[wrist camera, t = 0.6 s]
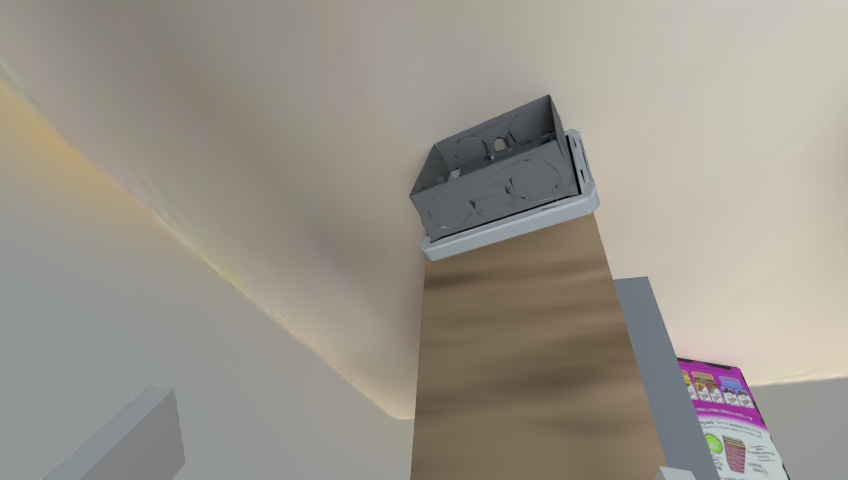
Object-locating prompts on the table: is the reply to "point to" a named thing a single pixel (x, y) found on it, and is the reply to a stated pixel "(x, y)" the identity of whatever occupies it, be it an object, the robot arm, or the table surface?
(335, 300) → the table surface
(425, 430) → the tall wooden block stack
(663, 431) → the socket block
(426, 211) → the electrical switch
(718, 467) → the candy bar box
